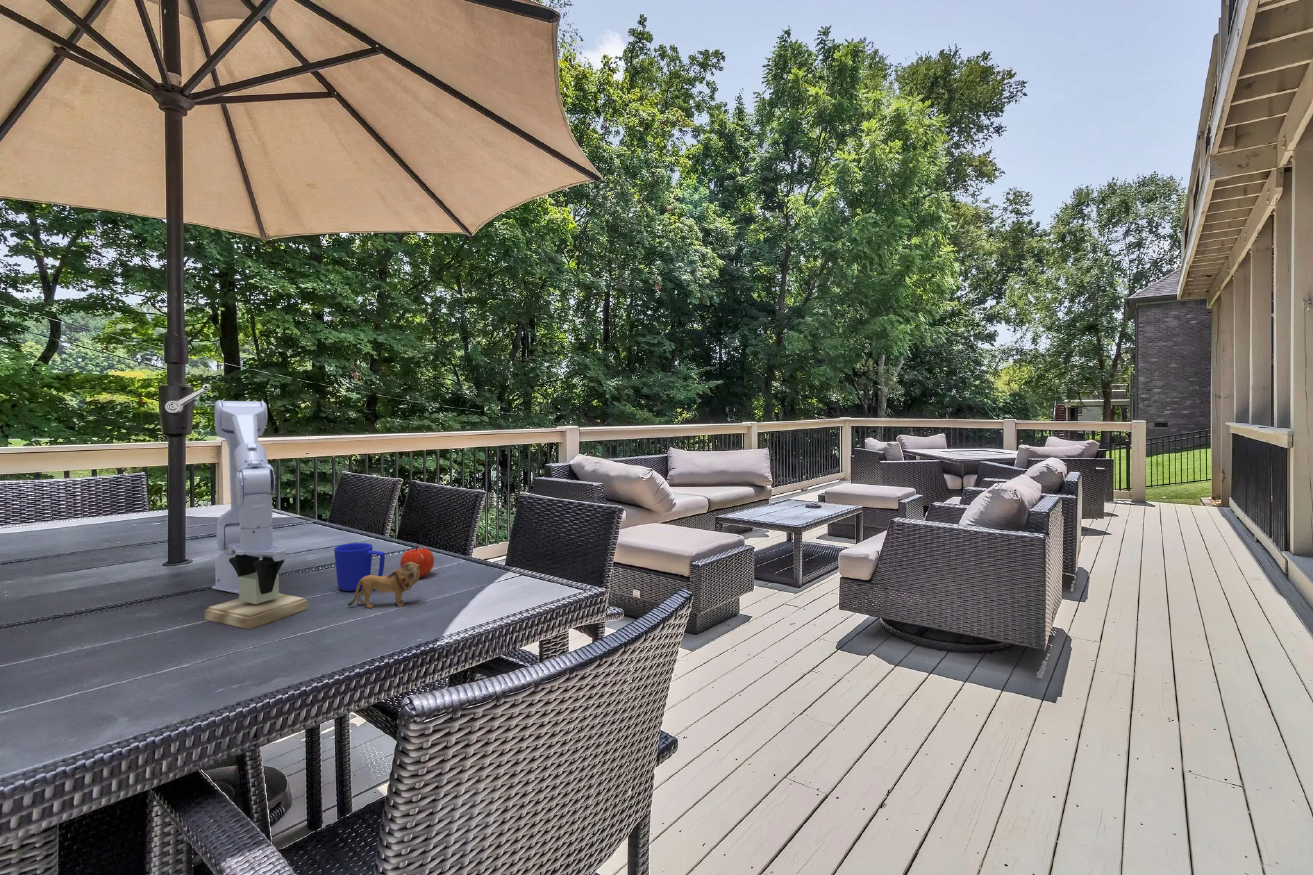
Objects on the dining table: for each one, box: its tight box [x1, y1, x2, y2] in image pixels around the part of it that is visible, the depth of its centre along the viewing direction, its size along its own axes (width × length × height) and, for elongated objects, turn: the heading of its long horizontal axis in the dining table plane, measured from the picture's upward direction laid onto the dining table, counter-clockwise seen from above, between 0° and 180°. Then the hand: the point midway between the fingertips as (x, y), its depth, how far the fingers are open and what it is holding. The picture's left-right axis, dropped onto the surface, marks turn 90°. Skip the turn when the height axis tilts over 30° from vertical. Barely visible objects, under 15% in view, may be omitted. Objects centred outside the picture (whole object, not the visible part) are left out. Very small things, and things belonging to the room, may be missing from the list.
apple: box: [399, 545, 435, 578], centre depth 161 cm, size 8×8×8 cm
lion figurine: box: [347, 562, 420, 609], centre depth 139 cm, size 15×5×9 cm, turn 113°
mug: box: [333, 542, 386, 592], centre depth 149 cm, size 8×12×10 cm
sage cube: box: [238, 572, 280, 604], centre depth 131 cm, size 5×5×5 cm
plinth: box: [204, 592, 309, 630], centre depth 131 cm, size 13×13×2 cm
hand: (257, 591), depth 131 cm, fingers closed on sage cube, 5 cm apart
